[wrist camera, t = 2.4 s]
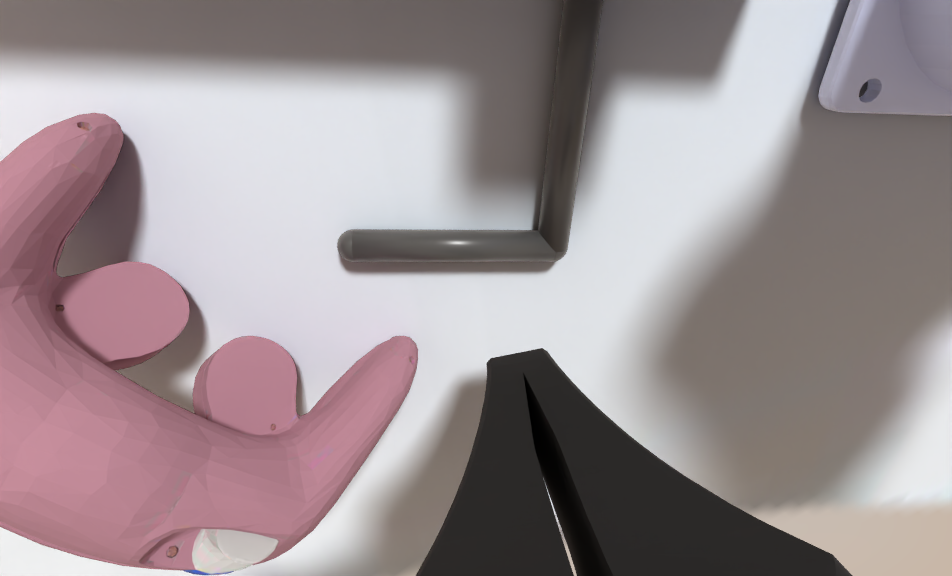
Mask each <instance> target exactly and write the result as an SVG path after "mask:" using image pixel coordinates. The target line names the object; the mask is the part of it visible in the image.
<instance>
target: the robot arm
mask: <svg viewBox="0 0 952 576" xmlns="http://www.w3.org/2000/svg"><path fill="white" fill-rule="evenodd" d="M867 81H868V87H867V90H866V92H865V93H864V95H863V96H862V97H860V98H859V92H860V89H861V87H862V86H863V84H864V83H866V82H867ZM818 97H819V102H820V104H821V105H822V106H823V107H824V108H825V109H828V110H832V111H837V112H845V113H875V114H905V115H934V116H952V0H850V3H849V5H848V8H847V11H846V14H845V17H844V20H843V23H842V25H841V28H840V31H839V34H838V37H837V40H836V43H835V45H834V48H833V51H832V54H831V57H830V60H829V63H828V65H827V68H826V71H825V74H824V77H823V80H822V83H821V85H820V89H819V95H818ZM543 478H544V479H543ZM544 481H545V482H544ZM545 484H546V485H545ZM546 486H547V489H548V492H549V495H550V498H551V500H552V503H553V506H554V509H555V511H556V514H557V517H558V520H559V523H560V525H561V528H562V531H563V534H564V537H565V539H566V542H567V545H568V548H569V551H570V554H571V557H572V560H573V564H574V567H575V570H576V574H577V576H852V575H851V574H850V573H849V572H848V571H847V570H846V569H845V568H844V566H843V565H842V564H841V563H840V562H839V561H838V560H837V559H836V558H835V557H834V556H833V555H832V554H830V553H828V552H825V551H824V550H822V549H819V548H817V547H815V546H813V545H811V544H809V543H807V542H805V541H803V540H800V539H798V538H796V537H794V536H792V535H790V534H788V533H786V532H784V531H781V530H779V529H777V528H775V527H773V526H771V525H769V524H767V523H765V522H763V521H761V520H759V519H757V518H755V517H753V516H752V515H750V514H748V513H746V512H744V511H742V510H741V509H739V508H737V507H735V506H733V505H731V504H730V503H728V502H726V501H725V500H723V499H721V498H720V497H718V496H717V495H715V494H713V493H712V492H710V491H708V490H707V489H705V488H703V487H702V486H700V485H699V484H697V483H695V482H694V481H692V480H690V479H689V478H687V477H686V476H684V475H682V474H681V473H679V472H678V471H677V470H675V469H674V468H672V467H671V466H669V465H668V464H667V463H665V462H664V461H662V460H661V459H659V458H658V457H657V456H655V455H654V454H653V453H651V452H650V451H649V450H647V449H646V448H645V447H643V446H642V445H641V444H639V443H638V442H637V441H636V440H634V439H633V438H632V437H631V436H629V435H628V434H627V433H626V432H625V431H623V430H622V429H621V428H620V427H619V426H618V425H616V424H615V423H614V422H613V421H612V420H611V419H610V418H608V417H607V416H606V415H605V414H604V413H603V412H602V411H601V410H600V409H599V408H598V407H596V406H595V405H594V404H593V403H592V402H591V401H590V400H589V399H588V398H587V397H586V396H585V395H584V394H583V393H582V392H581V391H580V390H579V389H578V388H577V386H576V385H575V384H574V383H573V382H572V381H571V380H570V379H569V378H568V377H567V376H566V374H565V373H564V372H563V371H562V370H561V369H560V367H559V366H558V365H557V364H556V363H555V361H554V360H553V359H552V357H551V356H550V355H549V353H548V352H547V351H546V350H544V349H543V348H541V349H536V350H531V351H526V352H521V353H516V354H510V355H505V356H500V357H495V358H491V359H490V360H489V361H488V362H487V384H486V392H485V399H484V404H483V409H482V414H481V419H480V423H479V427H478V431H477V435H476V438H475V442H474V445H473V448H472V452H471V455H470V459H469V462H468V464H467V467H466V470H465V473H464V476H463V479H462V481H461V484H460V486H459V489H458V491H457V494H456V496H455V499H454V501H453V503H452V505H451V508H450V510H449V512H448V514H447V517H446V519H445V521H444V523H443V526H442V528H441V530H440V532H439V534H438V536H437V538H436V540H435V542H434V544H433V546H432V547H431V549H430V551H429V553H428V555H427V556H426V558H425V560H424V562H423V564H422V566H421V567H420V569H419V571H418V573H417V575H416V576H574V575H573V572H572V569H571V566H570V563H569V560H568V556H567V553H566V550H565V547H564V544H563V541H562V537H561V534H560V531H559V528H558V525H557V522H556V518H555V515H554V512H553V509H552V505H551V502H550V499H549V495H548V492H547V489H546Z"/></svg>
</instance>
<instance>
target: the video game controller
mask: <svg viewBox="0 0 952 576" xmlns="http://www.w3.org/2000/svg"><path fill="white" fill-rule="evenodd" d="M122 144H123V133H122V130H121V127H120V125H119V124H118V123H117V122H116V120H114V119H112V118H111V117H109V116H107V115H106V114H99V113H90V114H82V115H77V116H75V117H72V118H69V119H67V120H64V121H61V122H59V123H56V124H53V125H51V126H48V127H46V128H44V129H43V130H41V131H40V132H38V133H37V134H35V135H33V136H32V137H30V138H29V139H27V140H25V141H24V142H23V143H21V144H20V145H19V146H18V147H17V148H16V149H15V150H13V151H12V152H11V153H10V154H9V155H8V156H7V157H5V158H4V159H3V160H2V161H1V162H0V527H2V528H4V529H6V530H9V531H11V532H13V533H16V534H18V535H20V536H23V537H25V538H27V539H30V540H32V541H34V542H37V543H39V544H41V545H44V546H48V547H51V548H54V549H58V550H61V551H64V552H67V553H71V554H74V555H77V556H80V557H85V558H90V559H94V560H99V561H103V562H108V563H113V564H117V565H122V566H131V567H140V568H149V569H164V570H183V571H186V572H189V573H192V574H199V575H221V574H227V573H230V572H234V571H237V570H242V569H244V568H246V567H248V566H251V565H255V564H259V563H263V562H266V561H269V560H271V559H274V558H276V557H278V556H280V555H281V554H283V553H285V552H286V551H288V550H290V549H291V548H292V547H293V546H295V545H296V544H297V543H298V542H300V541H301V540H302V539H303V538H305V537H306V536H307V535H308V534H309V533H311V532H312V531H313V530H314V529H315V528H316V526H317V525H318V524H319V523H320V521H321V520H322V519H323V518H324V517H325V515H326V514H327V513H328V512H329V511H330V509H331V508H332V507H333V506H334V504H335V503H336V502H337V500H338V499H339V497H340V496H341V494H342V493H343V492H344V490H345V489H346V487H347V486H348V484H349V483H350V482H351V480H352V479H353V477H354V476H355V474H356V473H357V472H358V470H359V469H360V467H361V466H362V464H363V463H364V461H365V460H366V459H367V457H368V456H369V454H370V453H371V451H372V450H373V448H374V447H375V445H376V444H377V442H378V441H379V439H380V437H381V436H382V434H383V433H384V431H385V430H386V428H387V427H388V425H389V424H390V422H391V421H392V419H393V417H394V416H395V414H396V413H397V411H398V410H399V408H400V406H401V404H402V403H403V401H404V399H405V397H406V395H407V394H408V392H409V390H410V387H411V384H412V381H413V378H414V375H415V372H416V369H417V361H418V349H417V346H416V343H415V342H414V341H413V340H412V339H411V338H410V337H406V336H395V337H392V338H391V339H390V340H388V341H386V342H384V343H382V344H380V345H378V346H376V347H375V348H374V349H372V350H371V351H370V352H369V353H367V354H366V355H365V356H363V357H362V358H361V359H359V360H358V361H357V362H356V363H355V364H354V365H353V366H352V367H351V368H350V369H349V370H348V371H347V372H346V373H345V374H344V375H343V376H342V377H341V378H340V379H339V380H338V381H337V382H336V383H335V384H334V385H333V386H332V387H331V388H330V389H329V390H328V391H327V392H326V393H325V394H324V395H323V397H322V398H321V399H320V400H319V401H318V402H317V404H316V405H315V406H314V407H313V408H312V409H311V410H310V412H309V413H307V414H305V415H302V416H300V415H298V414H297V413H296V386H297V373H296V366H295V364H294V361H293V359H292V357H291V356H290V355H289V353H288V352H287V351H286V350H285V349H284V348H283V347H282V346H280V345H279V344H277V343H275V342H273V341H271V340H269V339H266V338H262V337H256V336H244V337H239V338H236V339H233V340H231V341H230V342H228V343H226V344H225V345H223V346H222V347H221V348H220V349H219V350H217V351H216V352H215V353H214V354H213V355H211V356H210V357H209V358H208V359H207V360H206V361H205V362H204V363H203V364H202V365H201V367H200V369H199V371H198V373H197V375H196V377H195V383H194V388H193V407H194V412H195V414H194V413H192V412H190V411H188V410H185V409H183V408H181V407H179V406H177V405H175V404H173V403H171V402H169V401H167V400H165V399H163V398H160V397H158V396H157V395H155V394H153V393H152V392H150V391H148V390H146V389H145V388H143V387H141V386H140V385H138V384H136V383H135V382H133V381H131V380H129V379H128V378H126V377H124V376H123V375H121V374H119V373H118V372H116V371H114V370H119V369H124V368H128V367H131V366H134V365H137V364H140V363H142V362H144V361H146V360H148V359H150V358H152V357H153V356H154V355H156V354H157V353H159V352H160V351H161V350H162V349H163V348H165V347H167V346H168V345H169V344H170V343H171V342H172V341H173V340H175V339H176V338H177V337H178V336H179V335H180V334H181V332H182V331H183V330H184V328H185V326H186V324H187V322H188V318H189V312H190V311H189V302H188V299H187V296H186V294H185V293H184V291H183V289H182V288H181V286H180V285H179V284H178V283H177V282H176V281H175V280H174V279H173V278H172V277H171V276H170V275H169V274H167V273H166V272H164V271H162V270H161V269H159V268H157V267H155V266H152V265H150V264H146V263H141V262H121V263H117V264H112V265H107V266H104V267H101V268H98V269H95V270H92V271H89V272H86V273H82V274H77V275H72V276H68V277H60V276H58V275H57V273H56V270H57V264H58V261H59V259H60V256H61V253H62V250H63V247H64V244H65V242H66V239H67V237H68V236H69V234H70V233H71V232H72V230H73V229H74V227H75V226H76V224H77V223H78V222H79V220H80V219H81V217H82V216H83V215H84V213H85V212H86V210H87V209H88V208H89V206H90V205H91V203H92V202H93V200H94V199H95V198H96V196H97V195H98V193H99V192H100V190H101V189H102V187H103V185H104V183H105V181H106V180H107V178H108V176H109V174H110V172H111V171H112V169H113V167H114V165H115V163H116V161H117V158H118V155H119V152H120V150H121V147H122Z"/></svg>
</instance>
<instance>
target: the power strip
mask: <svg viewBox="0 0 952 576" xmlns="http://www.w3.org/2000/svg"><path fill="white" fill-rule="evenodd" d="M602 6H603V0H564V1H563V10H562V19H561V28H560V37H559V46H558V55H557V64H556V73H555V82H554V91H553V100H552V109H551V118H550V127H549V136H548V145H547V154H546V163H545V172H544V181H543V190H542V199H541V208H540V217H539V226H538V230H366V229H353V230H348V231H346V232H344V233H343V234H342V235H341V236H340V238H339V240H338V243H337V248H338V251H339V253H340V255H341V256H342V257H343V258H344V259H346V260H348V261H351V262H553V261H557V260H560V259H561V258H562V257H563V256H564V255H565V254H566V252H567V248H568V242H569V235H570V228H571V221H572V214H573V207H574V200H575V193H576V186H577V179H578V172H579V165H580V158H581V152H582V145H583V138H584V131H585V124H586V117H587V110H588V103H589V96H590V89H591V82H592V75H593V68H594V61H595V55H596V48H597V41H598V34H599V27H600V20H601V13H602Z"/></svg>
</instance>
